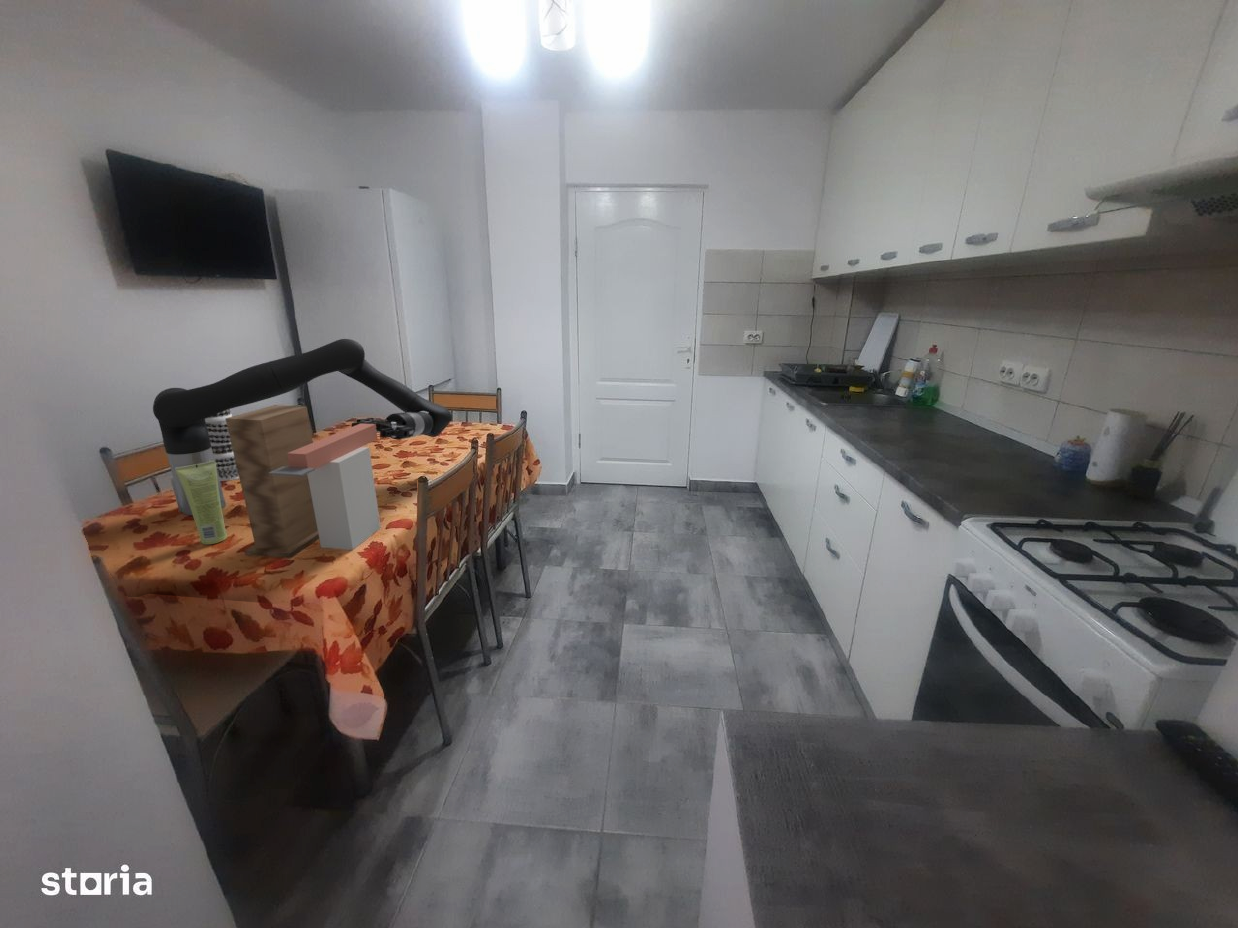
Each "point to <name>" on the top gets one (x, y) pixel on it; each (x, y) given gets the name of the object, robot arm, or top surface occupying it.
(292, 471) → the scraper
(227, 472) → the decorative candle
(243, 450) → the stand
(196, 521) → the tube
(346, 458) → the light grey rectangular block
